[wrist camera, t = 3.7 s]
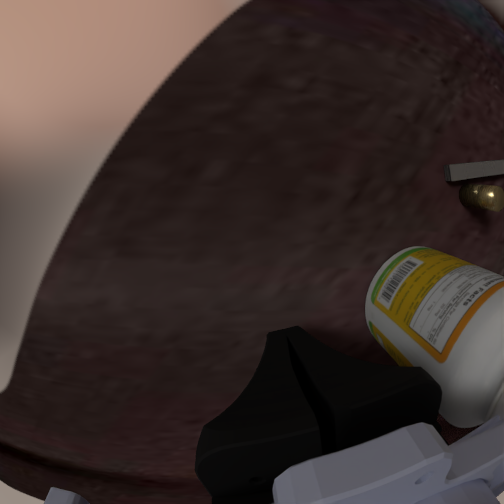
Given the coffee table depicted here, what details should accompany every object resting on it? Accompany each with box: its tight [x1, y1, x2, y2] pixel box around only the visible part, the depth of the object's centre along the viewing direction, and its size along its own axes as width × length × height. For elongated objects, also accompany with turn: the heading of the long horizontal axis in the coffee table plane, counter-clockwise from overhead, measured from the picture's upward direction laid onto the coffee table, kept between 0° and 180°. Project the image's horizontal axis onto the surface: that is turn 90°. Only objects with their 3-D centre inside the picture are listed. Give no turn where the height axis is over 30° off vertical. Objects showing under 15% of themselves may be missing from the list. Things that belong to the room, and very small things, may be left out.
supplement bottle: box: [365, 246, 504, 428], centre depth 9 cm, size 5×5×10 cm
